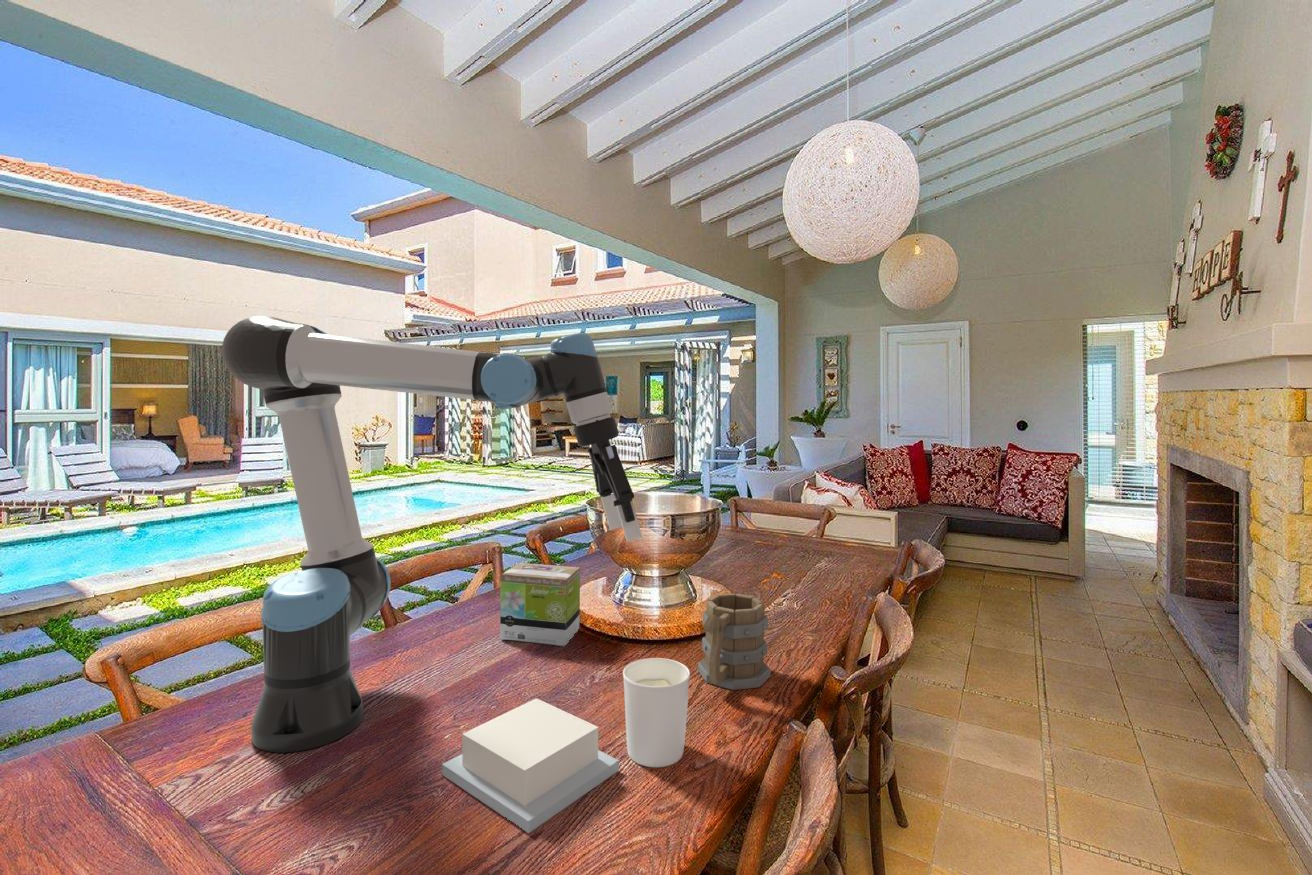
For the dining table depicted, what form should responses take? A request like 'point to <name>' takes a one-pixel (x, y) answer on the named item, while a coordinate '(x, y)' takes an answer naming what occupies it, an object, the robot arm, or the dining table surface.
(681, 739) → the candle holder
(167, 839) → the dining table surface
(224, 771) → the dining table surface
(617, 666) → the dining table surface
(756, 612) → the tankard
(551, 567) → the tea box
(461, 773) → the pedestal
